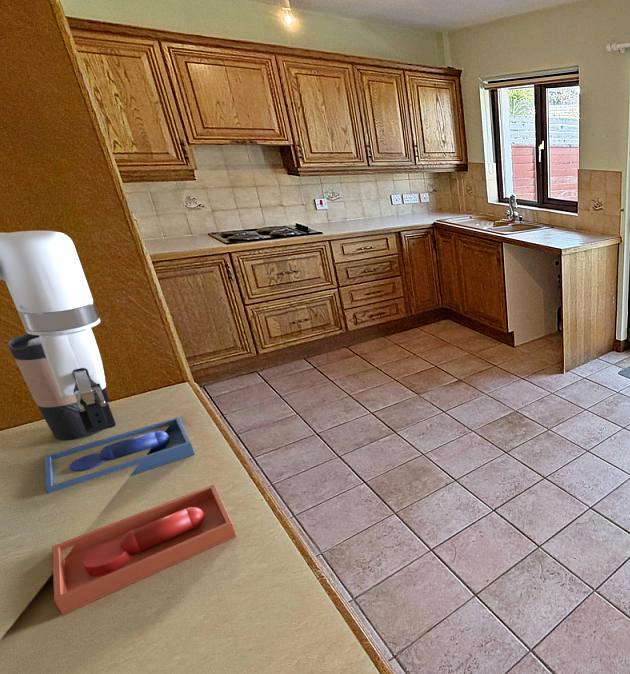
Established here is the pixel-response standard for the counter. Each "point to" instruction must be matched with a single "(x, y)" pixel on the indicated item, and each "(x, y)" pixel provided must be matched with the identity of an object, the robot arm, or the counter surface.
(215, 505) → the terracotta tray
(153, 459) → the blue long rectangular frame
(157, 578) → the counter surface
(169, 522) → the red spoon
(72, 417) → the travel mug
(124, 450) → the blue lumpy rod
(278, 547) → the counter surface
